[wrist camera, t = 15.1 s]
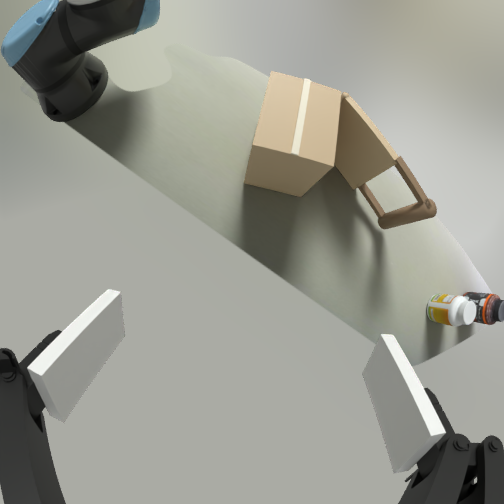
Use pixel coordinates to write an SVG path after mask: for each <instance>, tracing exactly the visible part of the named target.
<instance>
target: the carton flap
mask: <svg viewBox="0 0 504 504" xmlns="http://www.w3.org/2000/svg"><path fill="white" fill-rule="evenodd" d="M334 164H335V166H336V167H337V168H338V170H339V171H340V172H341V174H342V175H343V176H344V178H345V179H346V181H347V182H348V183H349V185H350V186H351V187H352V189H353V190H354V189H356V188H359V190H360V191H361V193H362V194H363V195H364V197H365V198H366V200H367V201H368V203H369V204H370V206H371V207H372V209H373V210H374V212H375V213H376V215H377V216H378V224H379V226H380V227H381V228H382V229H388V228H392V227H396V226H400V225H404V224H408V223H412V222H416V221H420V220H424V219H428V218H432V217H434V216H435V215H436V212H437V211H436V210H437V209H436V205H435V203H434V202H433V201H432V200H431V199H428V198H427V196H426V195H425V193H424V191H423V190H422V188H421V186H420V185H419V183H418V182H417V180H416V178H415V177H414V175H413V174H412V172H411V171H410V169H409V168H408V166H407V165H406V163H405V162H404V160H403V159H402V158H401V156H400V157H398V155H397V154H396V152H395V151H394V150H393V148H392V147H391V146H390V144H389V143H388V141H387V140H386V139H385V138H384V136H383V135H382V134H381V132H380V131H379V130H378V128H377V127H376V126H375V125H374V123H373V122H372V121H371V120H370V118H369V117H368V116H367V115H366V114H365V112H363V110H362V109H361V108H360V107H359V105H358V104H357V103H356V102H355V101H354V100H353V99H352V97H351V96H349V94H348V93H346V92H343V93H342V95H341V101H340V113H339V124H338V134H337V143H336V152H335V160H334ZM394 165H395V167H396V168H397V170H398V171H399V173H400V174H401V176H402V177H403V179H404V180H405V182H406V183H407V185H408V187H409V188H410V190H411V191H412V193H413V194H414V196H415V198H416V199H417V201H418V202H417V203H414V204H411V205H409V206H406V207H403V208H400V209H397V210H394V211H391V212H388V213H385V212H384V210H383V209H382V207H381V206H380V204H379V203H378V201H377V200H376V198H375V197H374V195H373V194H372V192H371V191H370V189H369V188H368V187H367V185H366V184H365V183H366V182H368V181H369V180H371V179H372V178H374V177H376V176H377V175H379V174H381V173H382V172H384V171H386V170H387V169H389V168H391V167H392V166H394Z"/></svg>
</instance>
